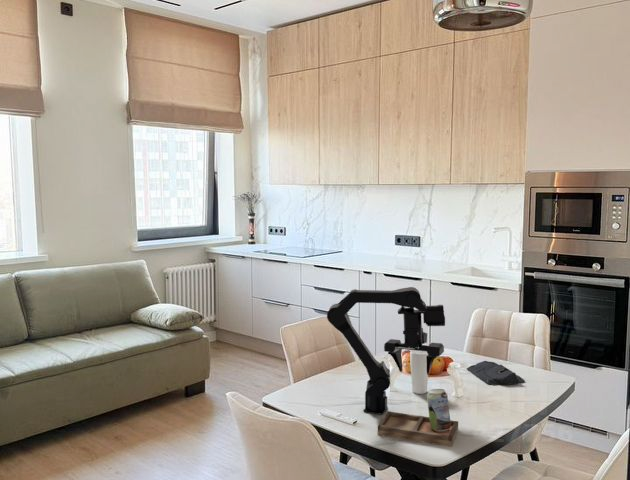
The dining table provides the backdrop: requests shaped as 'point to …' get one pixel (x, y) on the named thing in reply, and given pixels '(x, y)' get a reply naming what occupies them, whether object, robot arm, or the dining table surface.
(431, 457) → the dining table surface
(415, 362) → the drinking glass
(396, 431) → the divided wooden tray
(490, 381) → the dark slate chunk
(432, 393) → the beverage can
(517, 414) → the dining table surface
